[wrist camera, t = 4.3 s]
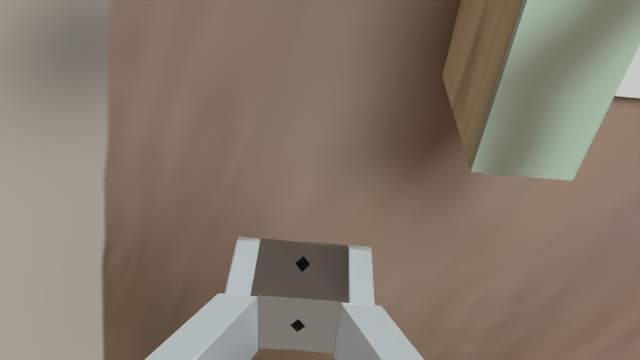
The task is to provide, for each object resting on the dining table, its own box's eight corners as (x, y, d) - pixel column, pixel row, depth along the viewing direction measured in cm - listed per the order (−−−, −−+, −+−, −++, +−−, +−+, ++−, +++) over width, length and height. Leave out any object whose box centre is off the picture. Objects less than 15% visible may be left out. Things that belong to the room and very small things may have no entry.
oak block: (596, -135, 25) (707, -93, 17) (519, 82, 33) (572, 180, 25) (496, -144, 25) (561, -106, 17) (441, 76, 33) (470, 172, 25)
